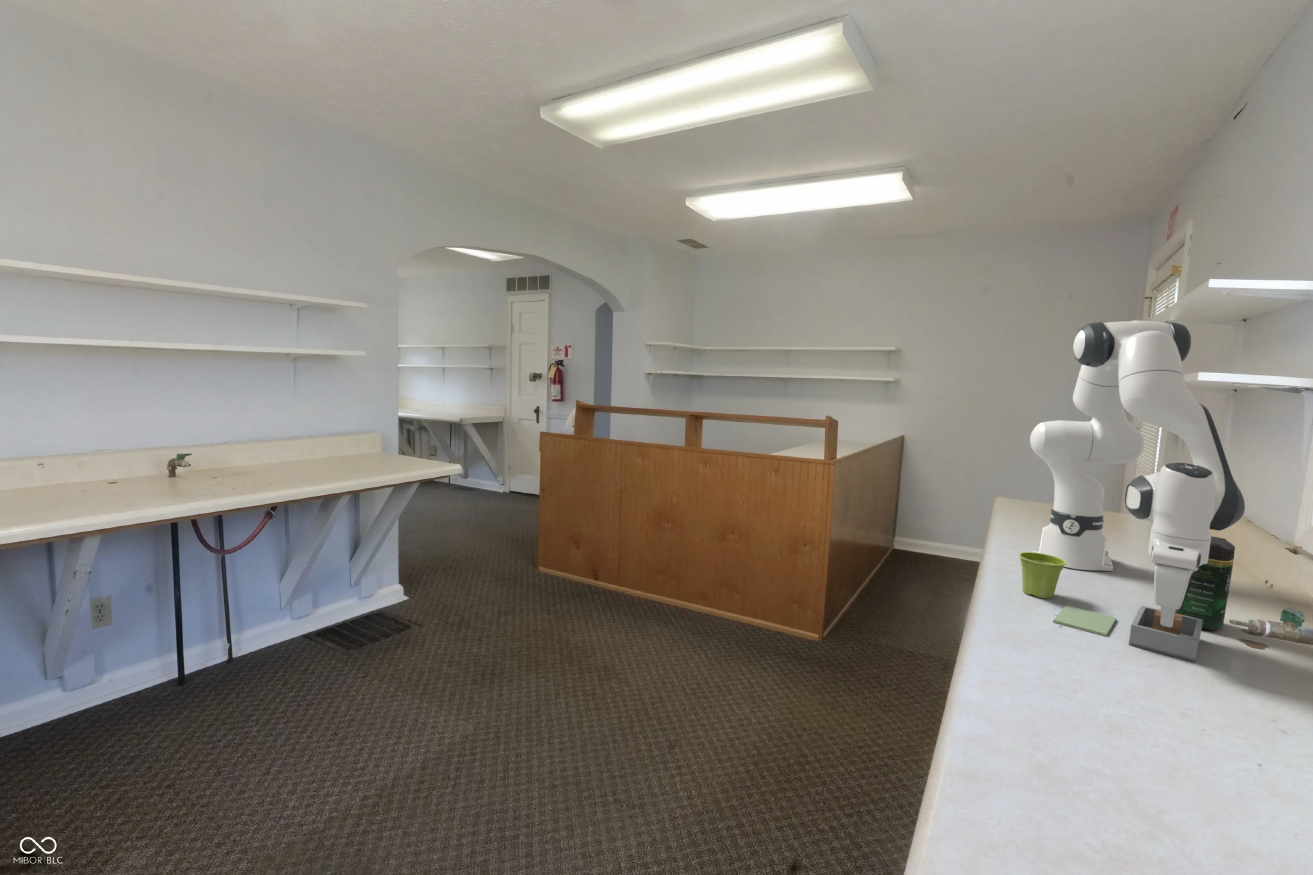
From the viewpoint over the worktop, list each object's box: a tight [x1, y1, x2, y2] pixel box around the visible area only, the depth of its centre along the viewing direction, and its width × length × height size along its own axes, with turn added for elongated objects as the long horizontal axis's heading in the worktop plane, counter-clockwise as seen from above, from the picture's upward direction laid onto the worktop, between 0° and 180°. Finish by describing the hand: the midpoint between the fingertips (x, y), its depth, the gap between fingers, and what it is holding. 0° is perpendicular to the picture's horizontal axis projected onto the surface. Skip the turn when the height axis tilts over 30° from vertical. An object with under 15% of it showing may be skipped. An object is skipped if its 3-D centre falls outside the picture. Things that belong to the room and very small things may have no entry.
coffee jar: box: [1177, 535, 1236, 631], centre depth 129 cm, size 10×8×19 cm
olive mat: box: [1052, 605, 1117, 637], centre depth 129 cm, size 12×9×1 cm
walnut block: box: [1152, 608, 1183, 635], centre depth 120 cm, size 4×4×5 cm
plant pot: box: [1018, 551, 1066, 599], centre depth 144 cm, size 9×9×9 cm
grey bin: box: [1128, 605, 1203, 663], centre depth 120 cm, size 15×10×4 cm, turn 136°
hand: (1168, 618), depth 119 cm, fingers open, 8 cm apart
